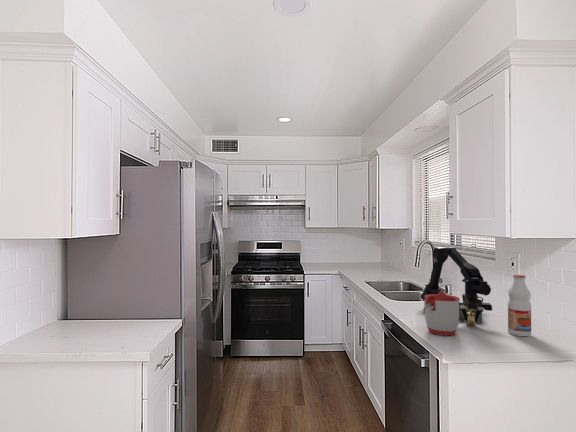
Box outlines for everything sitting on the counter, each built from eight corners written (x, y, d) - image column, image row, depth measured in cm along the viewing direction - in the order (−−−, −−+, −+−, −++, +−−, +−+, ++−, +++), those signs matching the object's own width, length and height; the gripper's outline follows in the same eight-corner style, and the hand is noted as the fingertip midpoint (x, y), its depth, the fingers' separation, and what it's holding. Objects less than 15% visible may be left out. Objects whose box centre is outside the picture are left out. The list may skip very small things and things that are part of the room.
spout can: (466, 323, 193) (466, 309, 193) (474, 324, 191) (474, 310, 192) (467, 325, 189) (467, 311, 189) (475, 326, 188) (475, 311, 188)
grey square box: (455, 314, 211) (455, 301, 211) (479, 317, 207) (479, 303, 207) (457, 320, 200) (457, 306, 200) (482, 322, 196) (482, 308, 196)
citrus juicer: (414, 330, 181) (414, 289, 181) (441, 326, 188) (441, 287, 188) (439, 339, 167) (439, 295, 167) (467, 335, 174) (467, 292, 174)
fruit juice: (516, 330, 182) (515, 273, 182) (535, 335, 173) (535, 275, 174) (503, 332, 178) (503, 274, 178) (523, 338, 169) (522, 277, 170)
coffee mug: (462, 312, 217) (462, 295, 217) (461, 309, 225) (461, 292, 225) (484, 314, 213) (484, 297, 213) (483, 311, 221) (483, 294, 221)
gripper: (452, 293, 186) (452, 324, 186) (494, 296, 180) (494, 328, 179) (450, 289, 197) (450, 318, 197) (490, 292, 190) (490, 322, 190)
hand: (471, 322), depth 190 cm, fingers closed on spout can, 4 cm apart
